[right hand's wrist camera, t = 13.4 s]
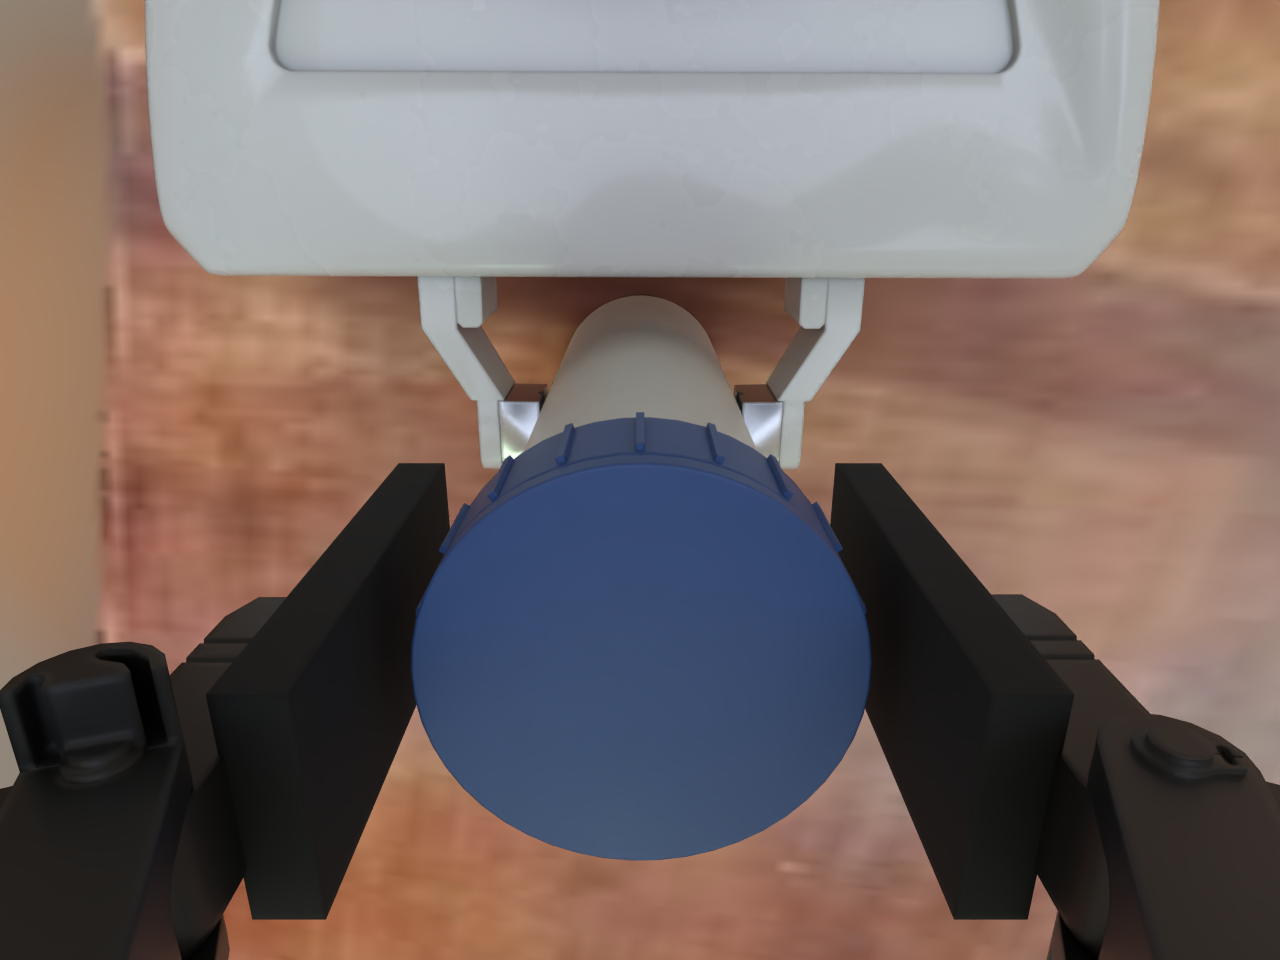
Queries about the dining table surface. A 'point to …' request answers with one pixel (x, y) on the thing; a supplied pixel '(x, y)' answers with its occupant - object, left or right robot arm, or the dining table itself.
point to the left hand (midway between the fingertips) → (642, 462)
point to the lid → (641, 642)
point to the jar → (640, 372)
